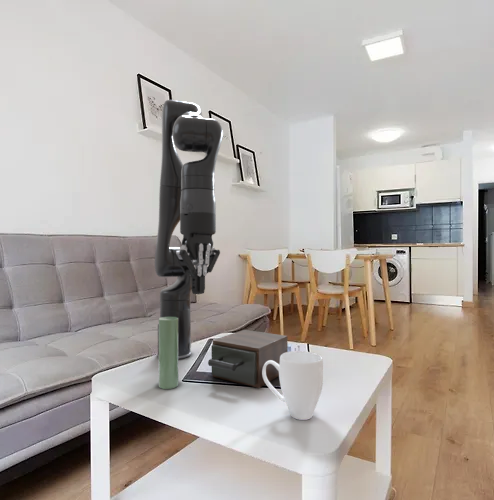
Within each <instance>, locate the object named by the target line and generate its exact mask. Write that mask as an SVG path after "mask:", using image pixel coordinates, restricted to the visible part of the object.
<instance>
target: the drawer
mask: <svg viewBox="0 0 494 500" xmlns="http://www.w3.org/2000/svg"><path fill="white" fill-rule="evenodd" d="M207 365H208V366H209V367H211V375H212V376H213V375H215V376H219V377H223V378H227V379H231V380H235V381H240V382H244V383H248V384H252V385H255V384H257V352H255V351H250V350H244V349H239V348H233V347H228V346H223V345H215V344H214V345H213V344H212V345H211V358H210V359H209V360H208V361H207Z"/></svg>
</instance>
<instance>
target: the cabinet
mask: <svg viewBox="0 0 494 500" xmlns="http://www.w3.org/2000/svg"><path fill="white" fill-rule="evenodd" d="M288 338H289V337H288V335H283V334H277V333H271V332H264V331H258V330H257V331H256V330H251V329H250V330H249V329H242V330H239V331H236V332H233V333H230V334H227V335H224V336H221V337H219V338H215V339H212V345H214V344H215V345H223V346H228V347H233V348H239V349H244V350H250V351H255V352H257V384H255V385H252V384H248V383H244V382H240V381H235V380H231V379H227V378H223V377H219V376H215V375H212V377H213V378H217V379H220V380H225V381H228V382H233V383H236V384H240V385H245V386H248V387H253V388H257V389H260V388H262V387H263V386H265V385H266V383H265V382H264V380H263V376H262V369H263V366H264V364H265V363H266V362H267V361H269V360H273V361H275V362H276V363H278V364H279V365H280V356H281V355H282V354H283V353H286V352H289V351H288V350H289V349H288V345H289V343H288V341H289V340H288ZM266 376H267V379H268V381H269V382H270V383H271V382H272V381H273V380H275V379H276V378H279V371H278V370H277V369H276V367H275V366H273V365H272V364H268V365H267V366H266Z"/></svg>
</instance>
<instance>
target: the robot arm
mask: <svg viewBox="0 0 494 500" xmlns="http://www.w3.org/2000/svg"><path fill="white" fill-rule="evenodd" d="M161 111H162V112H161V166H160V176H159V177H160V178H159V192H158V193H159V194H158V196H159V197H158V225H157V234H156V235H157V236H156V244H155V251H154V271H155V274H156V276H157V277H159V278H176V280H175V282H174V283H172V284H171V285H169V286H166V287H164V288H162V289H161V290H160V292H159V318H161V317H177V318H178V360H179V359H180V360H181V359H185V358H188V357H190V356H191V355H192V350H191V349H192V342H191V341H192V340H191V339H192V338H191V337H192V335H191V334H192V333H191V331H192V330H191V329H192V328H191V324H192V323H191V321H192V320H191V317H192V316H191V312H192V311H191V308H192V307H191V302H192V301H191V294H193V295H203V294H205V290H206V276H207V274H209V273H212V271H213V269H214V267H215V265H216V263H217V261H218V259H219V257H220V254H221V250H220V249H216V248H215V247H214V241H213V236H214V235H215V234H216V233H217V231H216V230H217V225H216V224H217V222H216V220H217V219H216V218H217V217H216V215H217V213H216V212H217V211H216V208H217V206H216V205H217V204H216V202H217V201H216V195H215V193H216V192H215V172H216V163H217V159H218V155H219V152H220V148H221V144H222V142H223V137H224V136H223V135H224V131H223V127H222V125H221V123H220V122H219V121H218V120H216V119H214V118H206V117H205V118H204V116H203V113H202V109H201V107H200V106H199V105H198V104H196V103H194V102H187V101H180V100H173V99H167V100H165V101H164V102H163V105H162V110H161ZM177 150H179V151H182V152H191V153H203V154H205V155H204V157H203V158H201V159H198V160H195V161H193V160H192V161H188V162H185V163H183V162H182V160H181V158H180V156H179V154H178V151H177ZM178 225H179V226H180V227H179V233H180V234H181V235H182V236H183V237H182V240H181V246H171V240H172V237H173V234H174V231H175V229H176V227H177V226H178ZM157 355H158V356H159V323H158V324H157Z"/></svg>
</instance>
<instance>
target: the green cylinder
mask: <svg viewBox="0 0 494 500" xmlns="http://www.w3.org/2000/svg"><path fill="white" fill-rule="evenodd" d="M158 324H159V355H158V387H159V388H160V389H162V390H171V389H175V388H177V387H178V386H179V359H178V318H177V317H161V318H160V317H159V318H158Z"/></svg>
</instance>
